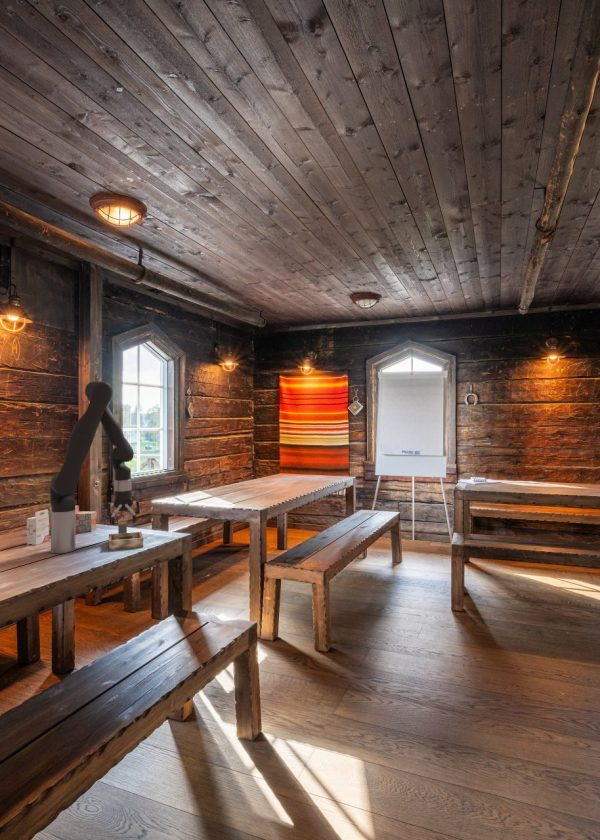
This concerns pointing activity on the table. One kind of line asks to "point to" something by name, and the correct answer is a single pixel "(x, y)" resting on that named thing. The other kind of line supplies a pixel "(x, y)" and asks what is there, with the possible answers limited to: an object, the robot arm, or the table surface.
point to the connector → (122, 526)
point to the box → (125, 541)
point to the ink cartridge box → (38, 528)
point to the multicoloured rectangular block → (82, 520)
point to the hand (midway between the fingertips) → (123, 523)
